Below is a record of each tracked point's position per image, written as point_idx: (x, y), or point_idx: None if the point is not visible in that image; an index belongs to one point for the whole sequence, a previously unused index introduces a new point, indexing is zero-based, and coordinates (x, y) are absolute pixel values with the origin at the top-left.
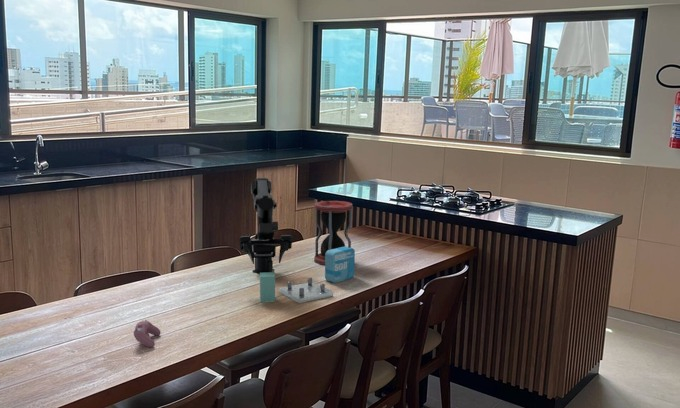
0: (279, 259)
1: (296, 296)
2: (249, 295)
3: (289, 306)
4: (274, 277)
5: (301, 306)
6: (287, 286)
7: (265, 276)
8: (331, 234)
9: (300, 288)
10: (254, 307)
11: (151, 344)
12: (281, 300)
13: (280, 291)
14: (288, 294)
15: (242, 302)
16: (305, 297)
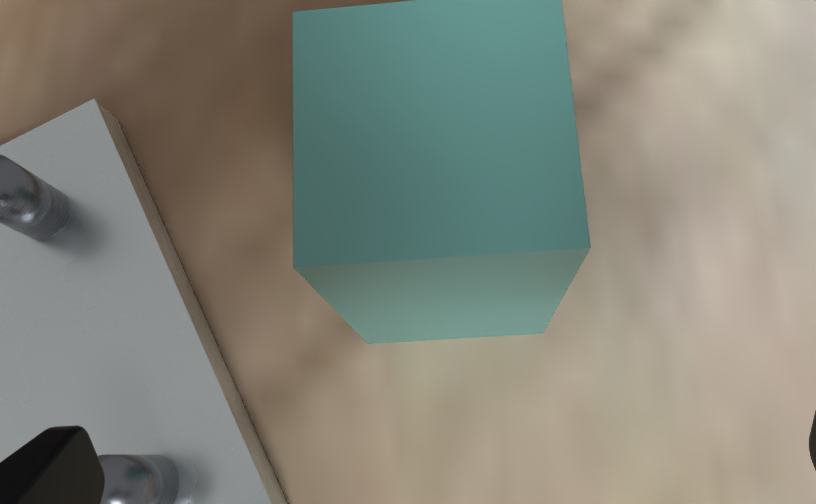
0: (36, 461)
1: (106, 178)
2: (686, 415)
3: (222, 34)
4: (305, 20)
5: (107, 32)
6: (161, 473)
7: (463, 5)
8: None
9: (2, 185)
10: (580, 14)
11: None
12: (290, 211)
13: (279, 496)
14: (189, 303)
15: (736, 164)
16: (14, 142)
